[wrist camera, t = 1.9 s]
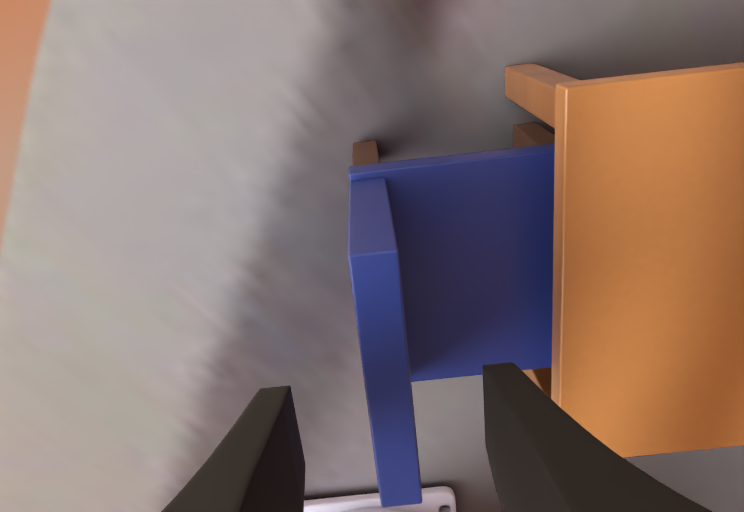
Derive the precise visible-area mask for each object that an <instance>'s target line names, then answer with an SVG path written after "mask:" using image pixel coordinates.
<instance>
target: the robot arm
mask: <svg viewBox="0 0 744 512" xmlns="http://www.w3.org/2000/svg"><path fill="white" fill-rule="evenodd" d="M482 366H483V391H484V416H485V441H486V449H487V454H488V458H489V462H490V467H491V471H492V475H493V479H494V484H495V488H496V492H497V495H498V497H499V500H500V503H501V506H502V509H503V511H504V512H712V511H710V510H708V509H706V508H704V507H703V506H701V505H699V504H697V503H695V502H693V501H692V500H690V499H688V498H686V497H684V496H683V495H681V494H679V493H677V492H675V491H674V490H672V489H670V488H669V487H667V486H665V485H664V484H662V483H660V482H659V481H657V480H656V479H654V478H652V477H651V476H649V475H648V474H646V473H645V472H643V471H642V470H640V469H639V468H637V467H636V466H634V465H633V464H631V463H629V462H628V461H627V460H625V459H624V458H622V457H621V456H619V455H618V454H617V453H615V452H614V451H612V450H611V449H610V448H609V447H607V446H606V445H605V444H603V443H602V442H601V441H600V440H598V439H597V438H596V437H594V436H593V435H592V434H591V433H590V432H588V431H587V430H586V429H585V428H583V427H582V426H581V425H580V424H579V423H578V422H577V421H575V420H574V419H573V418H572V417H571V416H570V415H568V414H567V413H566V412H565V411H564V410H563V409H562V408H560V407H559V406H558V405H557V404H556V403H555V402H554V401H553V400H552V399H551V398H550V397H549V396H548V395H546V394H545V393H544V392H543V391H542V390H541V389H540V388H539V387H538V386H537V385H536V384H535V383H534V382H533V381H532V380H531V379H530V378H529V377H528V376H527V375H526V374H525V373H524V372H523V371H522V370H521V369H520V368H519V367H518V366H517V365H516V364H514V363H513V362H509V363H499V364H490V365H482ZM421 489H422V500H423V501H422V503H421V504H413V505H403V506H393V507H382V506H381V503H380V495H379V493H372V494H362V495H352V496H343V497H333V498H323V499H313V500H304V490H305V460H304V455H303V450H302V445H301V439H300V434H299V429H298V424H297V419H296V413H295V408H294V403H293V398H292V393H291V387H290V386H281V387H272V388H262V389H260V390H259V391H258V392H257V393H256V395H255V396H254V397H253V399H252V400H251V402H250V403H249V405H248V406H247V407H246V409H245V410H244V412H243V413H242V414H241V416H240V417H239V419H238V420H237V421H236V423H235V424H234V425H233V427H232V428H231V430H230V431H229V432H228V434H227V435H226V436H225V438H224V439H223V440H222V441H221V443H220V444H219V445H218V447H217V448H216V449H215V451H214V452H213V453H212V454H211V456H210V457H209V458H208V460H207V461H206V462H205V463H204V464H203V466H202V467H201V468H200V469H199V470H198V471H197V473H196V474H195V475H194V476H193V477H192V478H191V480H190V481H189V482H188V483H187V484H186V485H185V487H184V488H183V489H182V490H181V491H180V492H179V494H178V495H177V496H176V497H175V498H174V499H173V500H172V501H171V502H170V503H169V504H168V505H167V506H166V507H165V508H164V510H163V511H161V512H456V502H455V495H454V492H453V490H452V489H451V488H449V487H447V486H440V487H430V488H421ZM443 505H448V506H446V507H441V506H443Z"/></svg>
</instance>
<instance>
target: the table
mask: <svg viewBox="0 0 744 512" xmlns="http://www.w3.org/2000/svg"><path fill="white" fill-rule="evenodd" d="M505 96H506V97H507V98H509V99H510V100H512V101H513V102H515V103H516V104H518V105H519V106H521V107H522V108H524V109H525V110H527V111H528V112H530V113H532V114H533V115H535V116H536V117H538V118H539V119H541V120H542V121H544V122H545V123H547V124H548V125H550V126H551V127H553V128H554V129H555V161H554V234H553V308H552V367H548V368H538V369H529V370H522V371H523V372H524V373H525V374H526V375H527V376H528V377H529V378H530V379H531V380H532V381H533V382H534V383H535V384H536V385H537V386H538V387H539V388H540V389H541V390H542V391H543V392H544V393H545V394H546V395H548V396H549V397H550V398H551V399H552V400H553V401H554V402H555V403H556V404H557V405H558V406H559V407H560V408H562V409H563V410H564V411H565V412H566V413H567V414H568V415H570V416H571V417H572V418H573V419H574V420H575V421H577V422H578V423H579V424H580V425H581V426H582V427H583V428H585V429H586V430H587V431H588V432H590V433H591V434H592V435H593V436H594V437H596V438H597V439H598V440H600V441H601V442H602V443H603V444H605V445H606V446H607V447H609V448H610V449H611V450H612V451H614V452H615V453H617V454H618V455H619V456H621V457H622V458H624V457H634V456H644V455H654V454H663V453H673V452H683V451H693V450H702V449H712V448H722V447H731V446H741V445H744V62H740V63H732V64H723V65H714V66H705V67H696V68H687V69H678V70H670V71H661V72H652V73H643V74H634V75H625V76H616V77H608V78H599V79H590V80H581V81H580V80H578V79H575V78H572V77H570V76H567V75H564V74H561V73H559V72H556V71H553V70H550V69H548V68H545V67H542V66H540V65H537V64H534V63H530V64H521V65H512V66H506V67H505Z"/></svg>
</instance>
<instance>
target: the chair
mask: <svg viewBox="0 0 744 512" xmlns="http://www.w3.org/2000/svg"><path fill="white" fill-rule="evenodd" d="M554 161H555V135H553V134H552V133H550V132H549V131H547V130H546V129H544V128H543V127H541V126H540V125H539V124H537V123H527V124H518V125H513V148H510V149H501V150H493V151H484V152H475V153H466V154H457V155H448V156H439V157H430V158H421V159H412V160H403V161H394V162H385V163H380V162H379V155H378V149H377V143H376V141H366V142H357V143H353V166H350V167H349V224H348V262H349V270H350V277H351V285H352V292H353V300H354V307H355V315H356V322H357V330H358V337H359V345H360V353H361V360H362V368H363V375H364V383H365V390H366V398H367V405H368V413H369V420H370V428H371V435H372V443H373V450H374V458H375V465H376V473H377V480H378V488H379V495H380V503H381V506H382V507H393V506H403V505H413V504H421V503H422V501H423V500H422V489H421V479H420V469H419V458H418V448H417V438H416V427H415V417H414V407H413V396H412V386H411V382H415V381H424V380H434V379H443V378H453V377H462V376H472V375H481V374H483V366H482V365H490V364H499V363H509V362H513V363H514V364H516V365H517V366H518V367H519V368H520V369H521V370H529V369H538V368H548V367H552V308H553V234H554Z"/></svg>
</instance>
